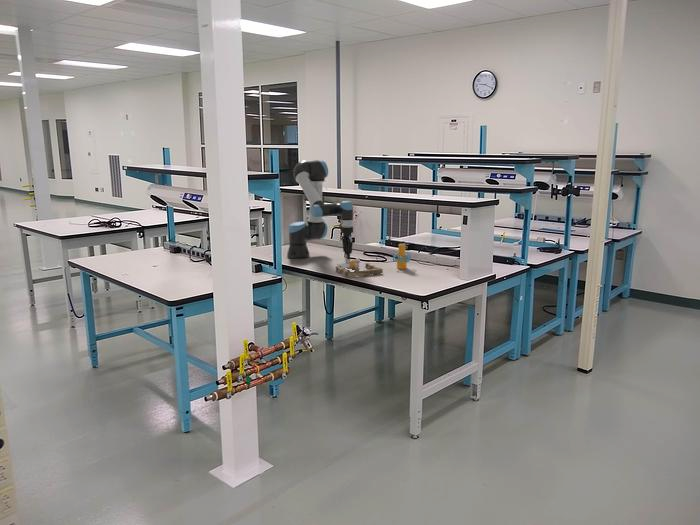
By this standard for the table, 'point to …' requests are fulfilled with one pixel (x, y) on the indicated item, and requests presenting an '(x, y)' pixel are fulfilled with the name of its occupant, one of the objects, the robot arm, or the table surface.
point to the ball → (352, 265)
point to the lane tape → (344, 265)
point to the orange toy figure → (401, 257)
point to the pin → (357, 264)
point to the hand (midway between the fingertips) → (347, 263)
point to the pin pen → (370, 266)
